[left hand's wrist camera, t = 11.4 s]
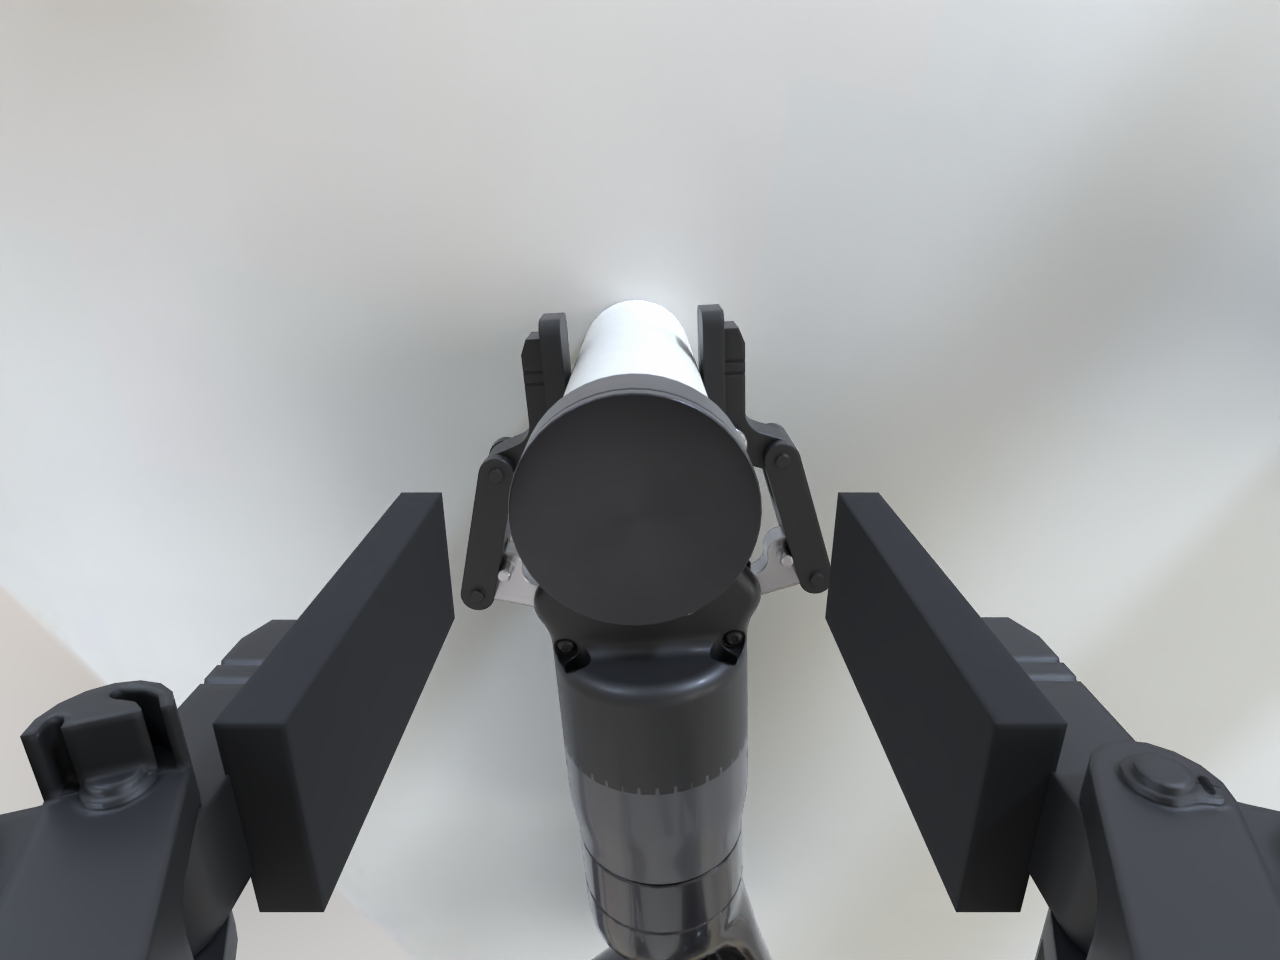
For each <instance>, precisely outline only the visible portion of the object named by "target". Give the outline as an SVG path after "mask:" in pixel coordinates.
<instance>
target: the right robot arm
mask: <svg viewBox="0 0 1280 960" xmlns="http://www.w3.org/2000/svg"><path fill="white" fill-rule="evenodd" d="M697 317H698V355H699V373H700V376H701V379H702V382H703V385H704V388H705V391H706V393H707V396H708V398H709V399H710V400H711V401H713V402H714V403H715V404H716V405H717V406H718V407H719V408H720V409H721V410H722V411H723V412H724V413H725V414H726V415H727V416H728V418H729V419H730V421H731V422H732V424H733V425H734V427H735V428H736V430H737V432H738V434H739V436H740V438H741V440H742V442H743V444H744V446H745V449H746V451H747V453H748V456H749V458H750V460H751V463H752V465H753V466H756V467H759V468H762V470H763V473H764V477H765V480H766V483H767V487H768V490H769V493H770V497H771V500H772V503H773V507H774V510H775V513H776V517H777V520H778V524H779V527H776V528H773V529H771V530H770V531H768V532H767V534H766V535H765V537H764V540H763V544H764V551H763V554H762V556H761V557H760V558H759V559H758V560H757V561H755V562H753V563H751V562H750V561H749V560H748V562H747V564H746V566H745V567H744V569H743V570H742V572H741V573H740V574H739V576H738V577H737V578H736V580H735V581H734V582H733V583H732V584H731V585H730V586H729V587H728V588H727V589H726V590H725V591H724V592H723V593H722V594H721V595H719V596H718V597H717V598H716V599H714V600H713V601H712V602H710V603H709V604H707V605H705V606H704V607H702V608H701V609H699V610H697V611H695V612H692V613H690V614H688V615H686V616H683V617H680V618H677V619H674V620H671V621H667V622H662V623H657V624H649V625H621V624H614V623H607V622H603V621H600V620H596V619H592V618H590V617H587V616H585V615H582V614H579V613H577V612H575V611H573V610H572V609H570V608H568V607H566V606H564V605H563V604H561V603H560V602H558V601H557V600H556V599H554V598H553V597H552V596H550V595H549V594H548V593H547V592H546V591H545V590H544V589H543V588H541V586H540V585H539V584H538V583H537V582H536V581H535V580H534V578H533V577H532V576H531V575H530V573H529V572H528V570H527V569H526V567H525V566H524V564H523V563H522V561H521V559H520V557H519V554H518V552H517V550H516V548H515V545H514V542H513V541H510V536H511V531H510V525H509V517H508V501H509V492H510V487H511V483H512V479H513V475H514V472H515V470H516V468H517V465H518V463H519V460H520V458H521V456H522V454H523V451H524V449H525V447H526V445H527V442H528V440H529V438H530V436H531V434H532V432H533V430H534V429H535V427H536V425H537V424H538V422H539V421H540V420H541V418H542V417H543V416H544V415H545V413H546V412H547V411H548V410H549V409H550V408H551V407H552V406H553V405H554V404H555V403H556V402H557V401H558V400H560V399H561V398H562V397H563V396H564V393H565V391H566V388H567V385H568V383H569V380H570V377H571V366H570V355H569V344H568V333H567V323H566V316H565V313H549V314H543V316H542V317H541V318H540V320H539V332H531V333H530V335H529V336H528V337H527V339H526V340H525V344H524V347H523V351H522V355H521V357H522V366H523V372H524V383H525V391H526V400H527V408H528V417H529V429H528V430H527V431H526V432H524V433H522V434H519V435H517V436H515V437H512V438H511V437H503V438H500V439H498V440H497V441H496V442H495V443H494V444H493V446H492V448H491V450H490V454H489V456H488V458H487V459H485V461H484V462H483V464H482V465H481V467H480V469H479V474H478V481H477V488H476V494H475V501H474V508H473V515H472V521H471V528H470V535H469V542H468V549H467V555H466V562H465V569H464V576H463V583H462V589H461V598H462V601H463V602H464V604H465V605H466V606H468V607H469V608H471V609H475V610H483V609H486V608H488V607H489V606H490V605H491V604H492V603H493V601H494V599H497V600H502V601H507V602H513V603H518V604H524V605H529V606H534V607H535V611H536V613H537V615H538V617H539V618H540V620H541V621H542V622H543V623H544V624H545V626H546V627H547V629H548V631H549V632H550V635H551V638H552V642H553V649H554V657H555V666H556V674H557V683H558V691H559V700H560V708H561V717H562V726H563V735H564V744H565V752H566V760H567V769H568V777H569V785H570V791H571V796H572V800H573V804H574V807H575V811H576V814H577V817H578V820H579V824H580V829H581V838H582V847H583V856H584V865H585V874H586V881H587V890H588V897H589V903H590V908H591V912H592V915H593V918H594V921H595V924H596V926H597V928H598V931H599V932H600V934H601V936H602V937H603V939H604V940H605V941H606V943H607V944H608V945H609V946H610V947H609V948H607V949H606V950H604V951H603V952H602V953H600V954H599V955H597V956H596V957H594V958H593V959H592V960H772V958H771V956H770V953H769V951H768V949H767V946H766V944H765V942H764V940H763V937H762V935H761V933H760V930H759V927H758V925H757V922H756V919H755V916H754V913H753V910H752V907H751V904H750V900H749V897H748V894H747V891H746V888H745V885H744V882H743V878H742V812H743V806H744V801H745V796H746V788H747V627H748V623H749V620H750V618H751V616H752V614H753V613H754V611H755V610H756V608H757V606H758V604H759V602H760V598H761V595H762V594H766V593H769V592H772V591H776V590H779V589H783V588H786V587H789V586H793V585H796V584H800V585H801V587H802V588H803V589H804V590H805V591H807V592H809V593H821V592H823V591H825V590H827V589H828V587H829V578H830V568H831V566H830V563H829V559H828V556H827V552H826V548H825V545H824V541H823V537H822V534H821V530H820V527H819V523H818V519H817V516H816V512H815V508H814V505H813V501H812V498H811V494H810V490H809V487H808V483H807V479H806V476H805V472H804V469H803V465H802V461H801V458H800V454H799V452H798V451H797V449H796V447H795V446H794V444H793V442H792V441H791V439H790V438H789V436H788V435H787V433H786V432H785V430H784V429H783V427H781V426H780V425H778V424H775V423H769V424H764V423H760V422H757V421H754V420H751V419H749V418H748V417H747V416H746V415H745V342H744V340H743V337H742V335H741V333H740V330H739V328H738V327H737V325H736V324H735V323H734V321H725V322H724V314H723V310H722V308H721V307H720V306H719V304H713V305H698V310H697Z"/></svg>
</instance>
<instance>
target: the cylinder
mask: <svg viewBox="0 0 1280 960" xmlns="http://www.w3.org/2000/svg"><path fill="white" fill-rule="evenodd" d="M629 373H637V374H651V375H657V376H663V377H666V378H670V379H673V380H676V381H679V382H681V383H684V384H686V385H688V386H690V387H692V388H694V389H696V390H697V391H699V392H701V393H702V394H704V395H705V396H707V393H706V391H705V388H704V385H703V382H702V379H701V376H700V373H699V371H698V368H697V365H696V362H695V359H694V356H693V353H692V350H691V348H690V345H689V342H688V339H687V336H686V333H685V331H684V329H683V327H682V325H681V324H680V322H679V321H678V320H677V319H676V318H675V316H674V315H673V314H671V313H670V312H669V311H668V310H666V309H665V308H663V307H662V306H660V305H657V304H655V303H652V302H649V301H643V300H629V301H624V302H620V303H617V304H615V305H612V306H611V307H609V308H607V309H606V310H604V311H603V312H602V313H601V314H600V315H598V316H597V317H596V319H595V320H594V321H593V322H592V324H591V326H590V327H589V329H588V331H587V334H586V336H585V339H584V342H583V344H582V347H581V350H580V353H579V355H578V358H577V361H576V363H575V366H574V369H573V372H572V374H571V377H570V380H569V383H568V385H567V388H566V391H565V393H564V396H565V395H567V394H568V393H569V392H571V391H573V390H574V389H576V388H578V387H580V386H582V385H584V384H586V383H589V382H591V381H594V380H597V379H599V378H604V377H608V376H612V375H619V374H629ZM564 396H563V397H564ZM707 397H708V396H707Z"/></svg>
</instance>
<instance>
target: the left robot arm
mask: <svg viewBox="0 0 1280 960" xmlns="http://www.w3.org/2000/svg"><path fill="white" fill-rule="evenodd" d="M454 618H455V617H454V607H453V597H452V587H451V578H450V568H449V558H448V549H447V539H446V529H445V520H444V510H443V500H442V493H401V494H400V495H399V496H398V498H397V499H396V500H395V501H394V503H393V504H392V505H391V506H390V507H389V509H388V510H387V511H386V512H385V513H384V515H383V516H382V517H381V518H380V520H379V521H378V522H377V523H376V524H375V526H374V527H373V528H372V529H371V531H370V532H369V533H368V534H367V535H366V537H365V538H364V539H363V540H362V542H361V543H360V544H359V545H358V546H357V548H356V549H355V550H354V551H353V553H352V554H351V555H350V556H349V557H348V559H347V560H346V561H345V562H344V564H343V565H342V566H341V567H340V568H339V570H338V571H337V572H336V573H335V575H334V576H333V577H332V578H331V579H330V581H329V582H328V583H327V584H326V586H325V587H324V588H323V589H322V590H321V592H320V593H319V594H318V595H317V597H316V598H315V599H314V600H313V601H312V603H311V604H310V605H309V606H308V608H307V609H306V610H305V611H304V612H303V614H302V615H301V616H300V617H299V619H298V620H271V621H270V622H268V623H266V624H265V625H263V626H261V627H260V628H258V629H257V630H255V631H253V632H252V633H250V634H248V635H247V636H245V637H244V638H242V639H241V640H240V641H239V642H238V643H237V644H236V645H235V646H234V647H233V649H232V650H231V651H230V652H229V653H228V654H227V655H226V656H225V657H224V658H223V660H222V661H221V665H217V666H216V667H215V668H214V669H213V671H212V672H211V673H210V674H209V675H208V676H207V677H206V678H205V682H204V684H200V685H199V686H198V687H197V688H196V689H195V690H194V691H193V692H192V694H191V695H190V696H189V697H188V698H187V699H186V700H185V701H184V702H183V703H182V705H181V706H180V707H179V708H178V709H177V707H176V703H175V699H174V696H173V692H172V691H171V690H169V689H168V688H167V687H165V686H164V685H162V684H161V683H155V682H148V681H141V680H140V681H131V682H121V683H114V684H110V685H106V686H103V687H99V688H96V689H92V690H89V691H86V692H83V693H81V694H79V695H77V696H74V697H72V698H70V699H68V700H66V701H63V702H61V703H59V704H57V705H56V706H54V707H53V708H51V709H50V710H48V711H47V712H45V713H44V714H42V715H41V716H39V717H38V718H36V719H35V720H34V721H33V722H32V723H31V725H30V726H29V727H28V728H27V729H26V730H25V731H24V733H23V734H22V735H21V736H20V737H21V740H22V743H23V745H24V748H25V751H26V754H27V756H28V759H29V762H30V764H31V767H32V770H33V773H34V775H35V778H36V781H37V783H38V786H39V789H40V791H41V794H42V797H43V800H44V803H43V805H41V806H38V807H34V808H29V809H24V810H20V811H16V812H11V813H6V814H2V815H0V960H235V958H236V949H237V941H238V938H237V931H236V925H235V921H234V917H233V913H232V908H233V906H234V905H235V903H236V901H237V900H238V898H239V896H240V894H241V893H242V891H243V889H244V887H245V886H246V884H247V882H248V881H249V879H250V877H251V879H252V883H253V887H254V891H255V895H256V899H257V903H258V907H259V911H260V912H324V910H325V908H326V906H327V904H328V901H329V899H330V897H331V895H332V892H333V890H334V888H335V886H336V883H337V881H338V879H339V877H340V874H341V872H342V870H343V868H344V865H345V863H346V861H347V859H348V856H349V854H350V852H351V850H352V847H353V845H354V843H355V841H356V838H357V836H358V834H359V832H360V830H361V827H362V825H363V823H364V821H365V818H366V816H367V814H368V812H369V809H370V807H371V805H372V803H373V800H374V798H375V796H376V794H377V791H378V789H379V787H380V785H381V782H382V780H383V778H384V776H385V773H386V771H387V769H388V767H389V764H390V762H391V760H392V758H393V755H394V753H395V751H396V749H397V746H398V744H399V742H400V740H401V737H402V735H403V733H404V731H405V728H406V726H407V724H408V722H409V719H410V717H411V715H412V713H413V710H414V708H415V706H416V704H417V701H418V699H419V697H420V695H421V692H422V690H423V688H424V686H425V683H426V681H427V679H428V677H429V674H430V672H431V670H432V668H433V665H434V663H435V661H436V659H437V656H438V654H439V652H440V650H441V648H442V645H443V643H444V641H445V639H446V636H447V634H448V632H449V630H450V627H451V625H452V623H453V621H454ZM825 618H826V621H827V623H828V625H829V627H830V630H831V632H832V634H833V636H834V639H835V641H836V643H837V645H838V648H839V650H840V652H841V654H842V656H843V659H844V661H845V663H846V665H847V668H848V670H849V672H850V674H851V677H852V679H853V681H854V683H855V686H856V688H857V690H858V692H859V695H860V697H861V699H862V701H863V704H864V706H865V708H866V710H867V713H868V715H869V717H870V719H871V722H872V724H873V726H874V728H875V731H876V733H877V735H878V737H879V740H880V742H881V744H882V746H883V749H884V751H885V753H886V755H887V758H888V760H889V762H890V764H891V767H892V769H893V771H894V773H895V776H896V778H897V780H898V782H899V785H900V787H901V789H902V791H903V794H904V796H905V798H906V800H907V803H908V805H909V807H910V809H911V812H912V814H913V816H914V818H915V821H916V823H917V825H918V827H919V830H920V832H921V834H922V836H923V838H924V841H925V843H926V845H927V847H928V850H929V852H930V854H931V856H932V859H933V861H934V863H935V865H936V868H937V870H938V872H939V874H940V877H941V879H942V881H943V883H944V886H945V888H946V890H947V892H948V895H949V897H950V899H951V901H952V904H953V906H954V908H955V910H956V912H1020V911H1021V907H1022V903H1023V899H1024V895H1025V891H1026V887H1027V883H1028V879H1029V875H1031V877H1032V878H1033V880H1034V882H1035V884H1036V885H1037V887H1038V889H1039V891H1040V892H1041V894H1042V896H1043V897H1044V899H1045V901H1046V903H1047V904H1048V906H1049V909H1048V913H1047V917H1046V920H1045V924H1044V928H1043V931H1042V935H1041V939H1040V942H1039V946H1038V950H1037V953H1036V957H1035V960H1280V811H1275V810H1271V809H1266V808H1262V807H1257V806H1252V805H1248V804H1244V803H1240V802H1237V801H1236V800H1235V798H1234V797H1233V796H1232V794H1231V793H1230V792H1229V790H1228V789H1227V788H1226V786H1225V785H1224V784H1223V782H1221V781H1220V780H1219V779H1218V778H1216V777H1215V776H1214V775H1212V774H1211V773H1210V772H1209V771H1207V770H1206V769H1205V768H1203V767H1202V766H1201V765H1199V764H1197V763H1195V762H1193V761H1191V760H1189V759H1187V758H1185V757H1183V756H1182V755H1180V754H1178V753H1176V752H1174V751H1170V750H1167V749H1164V748H1161V747H1158V746H1155V745H1152V744H1148V743H1143V742H1136V741H1135V740H1134V739H1133V738H1132V737H1131V736H1130V735H1129V734H1128V733H1127V732H1126V730H1125V729H1124V728H1123V727H1122V726H1121V725H1120V724H1119V723H1118V722H1117V721H1116V720H1115V718H1114V717H1113V716H1112V715H1111V714H1110V713H1109V712H1108V711H1107V710H1106V709H1105V708H1104V707H1103V705H1102V704H1101V703H1100V702H1099V701H1098V700H1097V699H1096V698H1095V697H1094V696H1093V695H1092V693H1091V692H1090V691H1089V690H1088V689H1087V688H1086V687H1085V686H1084V685H1083V684H1082V683H1081V681H1076V676H1075V675H1074V674H1073V673H1072V672H1071V671H1070V669H1069V668H1068V667H1067V666H1066V665H1065V664H1064V663H1060V662H1059V657H1058V656H1057V655H1056V654H1055V653H1054V652H1053V651H1052V650H1051V649H1050V648H1049V647H1048V645H1047V644H1046V643H1045V642H1044V641H1043V640H1042V639H1041V638H1040V637H1039V636H1038V635H1036V634H1034V633H1033V632H1031V631H1030V630H1028V629H1026V628H1025V627H1023V626H1021V625H1020V624H1018V623H1016V622H1015V621H1013V620H1012V619H1010V618H1008V617H980V616H979V615H978V614H977V612H976V611H975V610H974V609H973V608H972V606H971V605H970V604H969V603H968V601H967V600H966V599H965V598H964V597H963V595H962V594H961V593H960V592H959V590H958V589H957V588H956V587H955V586H954V584H953V583H952V582H951V581H950V579H949V578H948V577H947V576H946V575H945V573H944V572H943V571H942V570H941V568H940V567H939V566H938V565H937V564H936V562H935V561H934V560H933V559H932V557H931V556H930V555H929V554H928V553H927V551H926V550H925V549H924V548H923V546H922V545H921V544H920V543H919V542H918V540H917V539H916V538H915V537H914V535H913V534H912V533H911V532H910V531H909V529H908V528H907V527H906V526H905V524H904V523H903V522H902V521H901V520H900V518H899V517H898V516H897V515H896V513H895V512H894V511H893V510H892V509H891V507H890V506H889V505H888V504H887V503H886V501H885V500H884V499H883V498H882V496H881V495H880V494H879V493H838V500H837V510H836V520H835V529H834V539H833V549H832V558H831V568H830V578H829V587H828V597H827V607H826V617H825Z"/></svg>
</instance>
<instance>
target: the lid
mask: <svg viewBox="0 0 1280 960" xmlns="http://www.w3.org/2000/svg"><path fill="white" fill-rule="evenodd" d="M761 515H762V504H761V493H760V488H759V482H758V479H757V476H756V473H755V470H754V467H753V465H752V463H751V460H750V458H749V456H748V453H747V451H746V449H745V446H744V444H743V442H742V440H741V438H740V436H739V434H738V432H737V430H736V428H735V427H734V425H733V424H732V422H731V421H730V419H729V418H728V416H727V415H726V414H725V413H724V412H723V411H722V410H721V409H720V408H719V407H718V406H717V405H716V404H715V403H714V402H713V401H711V400H710V399H709V398H708V397H707V396H705V395H704V394H702V393H701V392H699V391H697V390H696V389H694V388H692V387H690V386H688V385H686V384H684V383H681V382H679V381H676V380H673V379H670V378H666V377H663V376H657V375H651V374H637V373H629V374H619V375H612V376H608V377H604V378H599V379H597V380H594V381H591V382H589V383H586V384H584V385H582V386H580V387H578V388H576V389H574V390H573V391H571V392H569V393H568V394H567V395H565V396H564V397H562V398H561V399H560V400H558V401H557V402H556V403H555V404H554V405H553V406H552V407H551V408H550V409H549V410H548V411H547V412H546V413H545V415H544V416H543V417H542V418H541V420H540V421H539V422H538V424H537V425H536V427H535V429H534V430H533V432H532V434H531V436H530V438H529V440H528V442H527V445H526V447H525V449H524V451H523V454H522V456H521V458H520V460H519V463H518V465H517V468H516V470H515V472H514V475H513V479H512V483H511V487H510V492H509V501H508V517H509V525H510V531H511V536H512V539H513V542H514V545H515V548H516V550H517V552H518V554H519V557H520V559H521V561H522V563H523V564H524V566H525V567H526V569H527V570H528V572H529V573H530V575H531V576H532V577H533V578H534V580H535V581H536V582H537V583H538V584H539V585H540V586H541V588H543V589H544V590H545V591H546V592H547V593H548V594H549V595H550V596H552V597H553V598H554V599H556V600H557V601H558V602H560V603H561V604H563V605H564V606H566V607H568V608H570V609H572V610H573V611H575V612H577V613H579V614H582V615H585V616H587V617H590V618H592V619H596V620H600V621H603V622H607V623H614V624H621V625H649V624H657V623H662V622H667V621H671V620H674V619H677V618H680V617H683V616H686V615H688V614H690V613H692V612H695V611H697V610H699V609H701V608H702V607H704V606H705V605H707V604H709V603H710V602H712V601H713V600H714V599H716V598H717V597H718V596H719V595H721V594H722V593H723V592H724V591H725V590H726V589H727V588H728V587H729V586H730V585H731V584H732V583H733V582H734V581H735V580H736V578H737V577H738V576H739V574H740V573H741V572H742V570H743V569H744V567H745V566H746V564H747V562H748V560H749V559H750V557H751V555H752V552H753V550H754V547H755V545H756V542H757V538H758V534H759V530H760V525H761Z"/></svg>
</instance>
